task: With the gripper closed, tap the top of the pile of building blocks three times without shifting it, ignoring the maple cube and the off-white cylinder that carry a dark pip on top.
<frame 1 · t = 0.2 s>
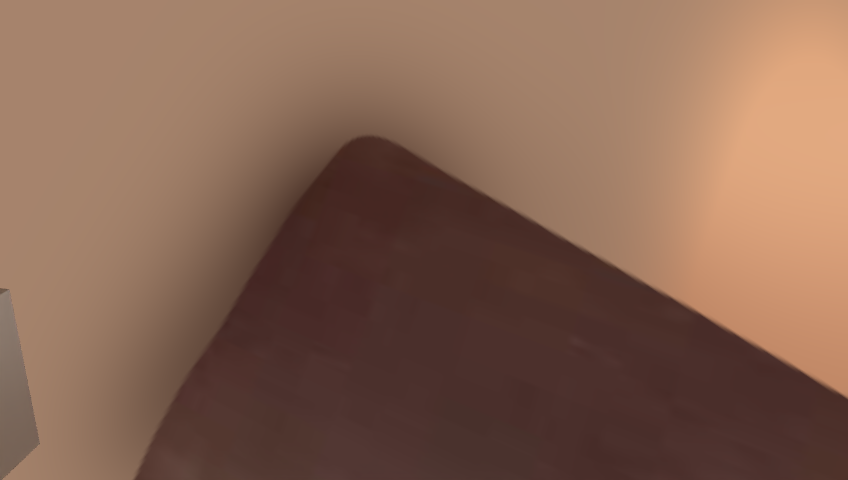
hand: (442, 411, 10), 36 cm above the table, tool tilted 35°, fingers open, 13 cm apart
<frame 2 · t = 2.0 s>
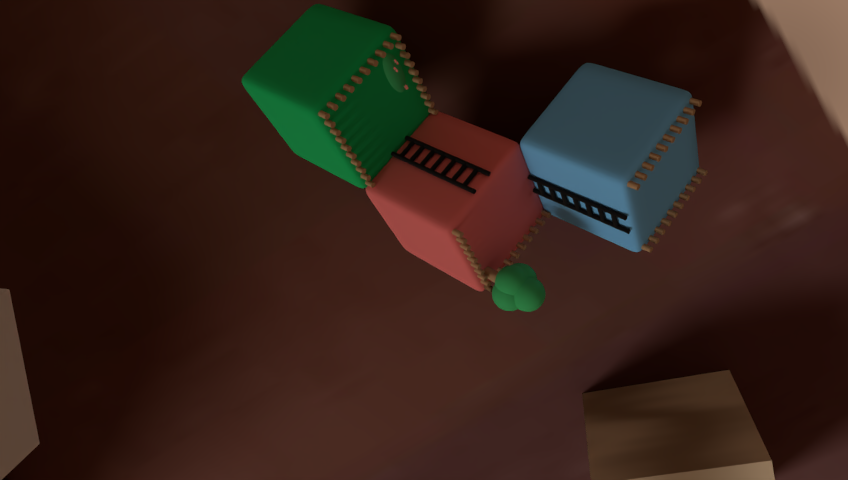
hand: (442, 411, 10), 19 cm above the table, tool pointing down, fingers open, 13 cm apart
building blocks: (483, 108, 28), on the table
maple cube: (666, 440, 32), on the table
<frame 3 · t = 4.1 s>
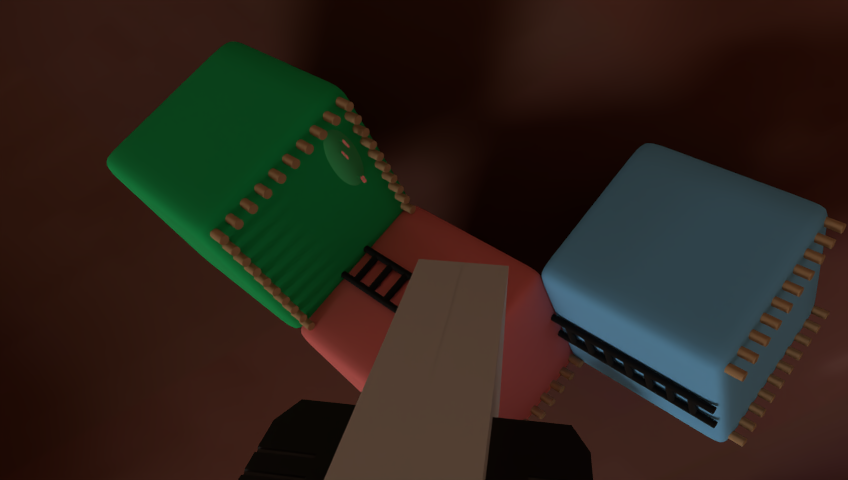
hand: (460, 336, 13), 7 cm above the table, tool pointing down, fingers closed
building blocks: (485, 192, 19), on the table
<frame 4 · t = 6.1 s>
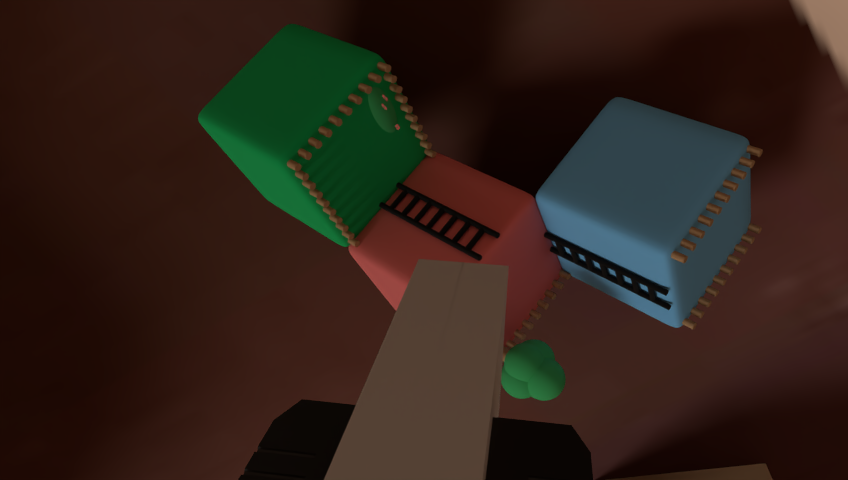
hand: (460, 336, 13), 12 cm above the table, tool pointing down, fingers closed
building blocks: (490, 145, 24), on the table
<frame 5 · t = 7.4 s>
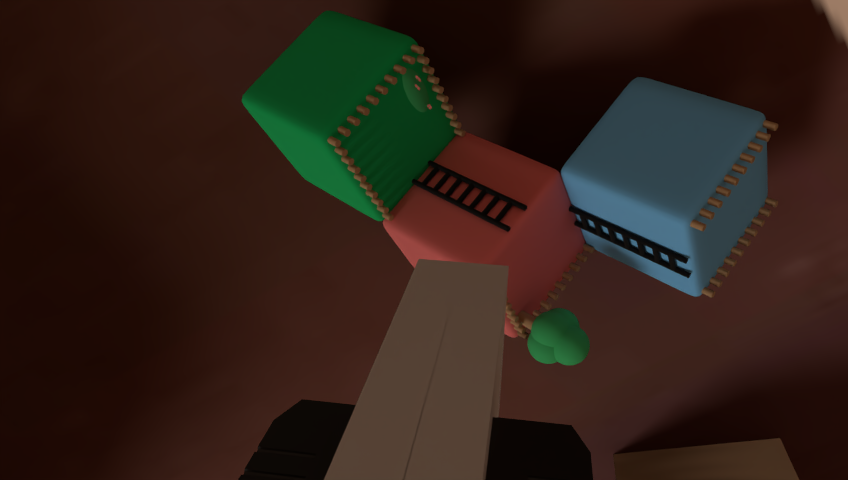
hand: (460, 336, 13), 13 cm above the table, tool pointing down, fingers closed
building blocks: (516, 126, 25), on the table
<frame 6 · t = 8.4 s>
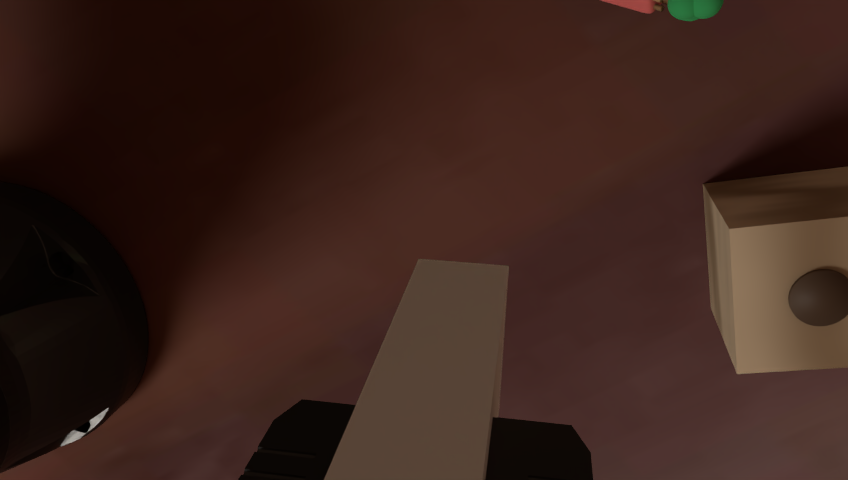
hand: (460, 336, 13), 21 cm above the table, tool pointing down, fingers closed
maple cube: (778, 239, 32), on the table
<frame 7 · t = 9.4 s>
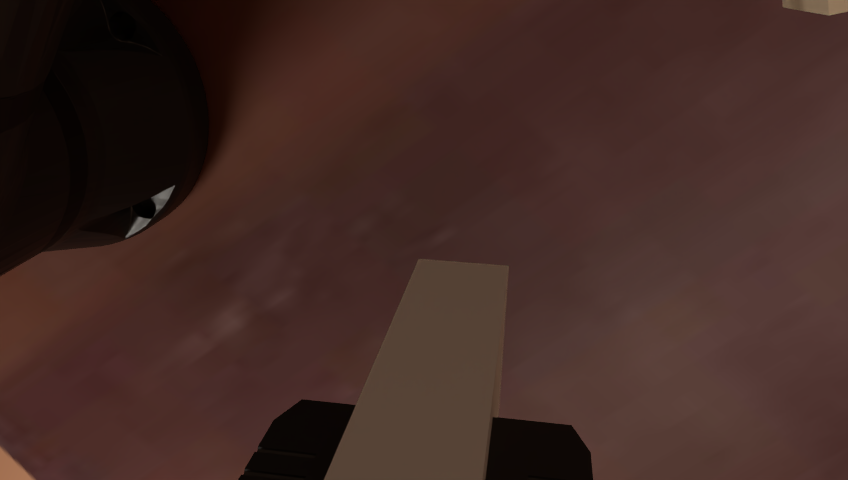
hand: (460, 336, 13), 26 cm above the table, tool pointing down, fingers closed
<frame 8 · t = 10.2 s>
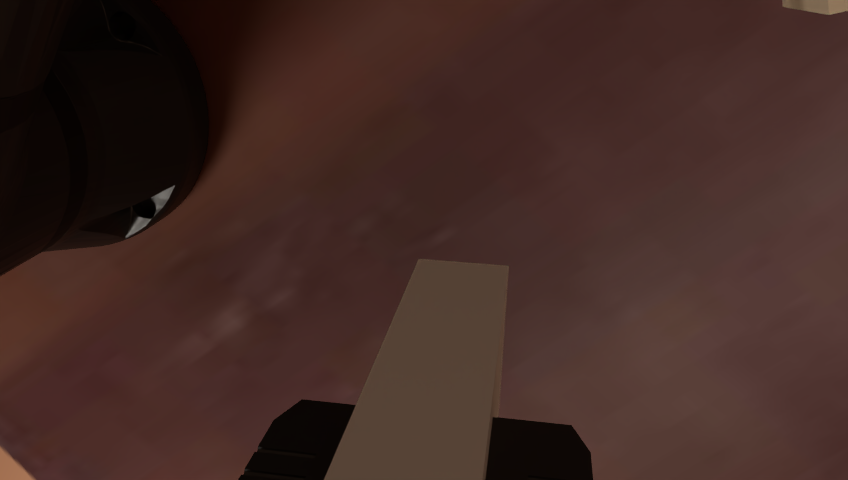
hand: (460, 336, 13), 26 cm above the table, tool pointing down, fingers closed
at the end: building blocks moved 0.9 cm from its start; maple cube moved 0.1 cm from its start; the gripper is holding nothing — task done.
